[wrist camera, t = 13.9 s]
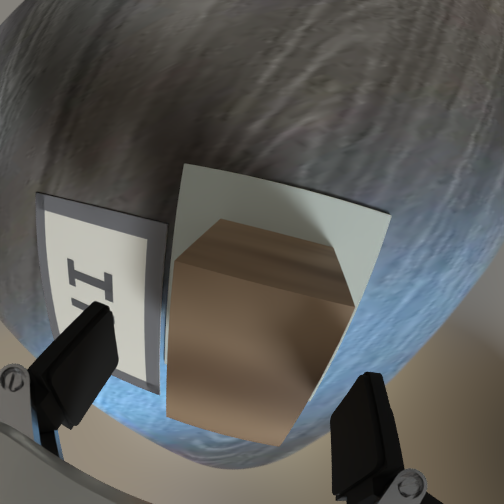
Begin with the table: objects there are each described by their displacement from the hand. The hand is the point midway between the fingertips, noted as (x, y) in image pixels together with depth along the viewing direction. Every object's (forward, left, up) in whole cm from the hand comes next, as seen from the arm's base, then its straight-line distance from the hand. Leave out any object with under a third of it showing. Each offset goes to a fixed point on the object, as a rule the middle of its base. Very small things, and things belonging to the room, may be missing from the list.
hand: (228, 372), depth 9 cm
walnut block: (+1, 0, -7) cm, 7 cm away
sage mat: (+1, 0, -7) cm, 7 cm away
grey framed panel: (+5, -11, -7) cm, 14 cm away
